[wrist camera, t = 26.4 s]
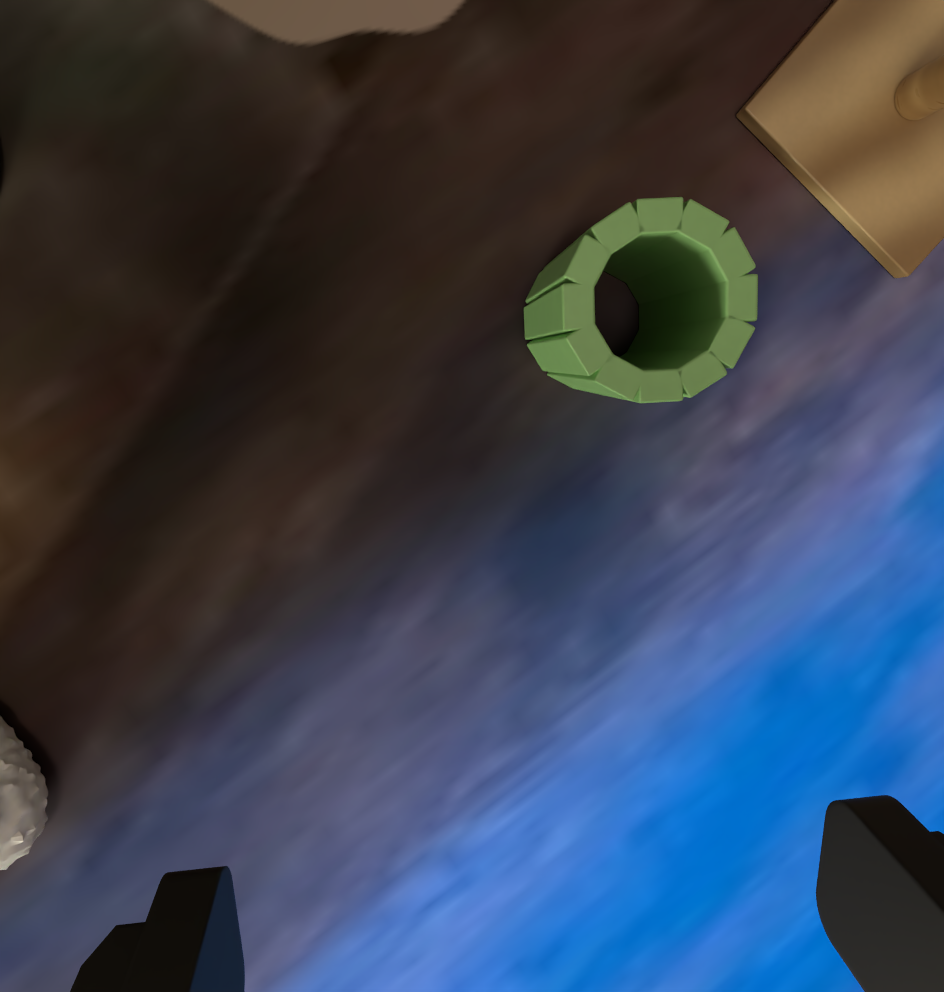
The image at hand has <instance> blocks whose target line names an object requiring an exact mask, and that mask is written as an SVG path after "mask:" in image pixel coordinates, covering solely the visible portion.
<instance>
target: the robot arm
mask: <svg viewBox="0 0 944 992" xmlns="http://www.w3.org/2000/svg"><path fill="white" fill-rule="evenodd" d="M0 169H1V165H0ZM816 900H817V907H818V911H819V915H820V919H821V922H822V924H823V927H824V929H825V932H826V934H827V936H828V938H829V940H830V941H831V943H832V945H833V946H834V948H835V949H836V950H837V952H838V953H839V955H840V956H841V958H842V959H843V961H844V962H845V964H846V965H847V966H848V968H849V969H850V971H851V972H852V974H853V975H854V977H855V978H856V980H857V981H858V982H859V984H860V985H861V987H862V988H863V990H864V991H865V992H944V834H942V833H941V832H939V831H935V832H929V831H928V830H927V829H926V828H925V827H924V826H923V825H922V824H921V823H920V822H919V821H918V820H917V819H916V818H915V817H914V816H913V815H912V814H911V813H910V812H909V811H908V810H907V809H906V808H905V807H904V806H903V805H902V804H901V803H900V802H899V801H898V800H896V799H895V798H893V797H891V796H888V795H881V796H872V797H863V798H854V799H845V800H836V801H833V802H831V803H830V804H829V806H828V808H827V810H826V815H825V822H824V831H823V839H822V847H821V855H820V863H819V871H818V879H817V887H816ZM244 985H245V973H244V958H243V951H242V944H241V937H240V930H239V923H238V916H237V909H236V902H235V895H234V888H233V881H232V875H231V872H230V869H229V868H228V866H222V867H213V868H204V869H195V870H186V871H177V872H168V873H166V874H165V875H164V876H163V877H162V879H161V881H160V884H159V886H158V889H157V892H156V894H155V897H154V900H153V903H152V905H151V908H150V911H149V914H148V916H147V919H146V922H141V923H132V924H124V925H116V926H115V927H114V929H113V930H112V931H111V932H110V933H109V934H108V936H107V937H106V938H105V939H104V940H103V941H102V942H101V944H100V945H99V946H98V947H97V948H96V949H95V951H94V952H93V953H92V954H91V955H90V956H89V958H88V959H87V960H86V961H85V962H84V963H83V964H82V966H81V968H80V970H79V972H78V975H77V977H76V979H75V982H74V984H73V986H72V989H71V991H70V992H244Z"/></svg>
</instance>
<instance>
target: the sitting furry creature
mask: <svg viewBox="0 0 944 992" xmlns="http://www.w3.org/2000/svg"><path fill="white" fill-rule="evenodd" d="M40 770H41V767H40V766H39V764H37V763H35V762H34V761H33V760H32V753H31V752H30V751H29V750H28V749H26V748H24V746H23V742H22V741H21V740H19V739H18V738H17V737H16V735H15V732H14V729H13V728H12V727H9V725H8V724H7V723H6V722H5V721H4V720H3V719H2V717H1V716H0V870H5V869H7V868H8V867H9V866H10V865H11V864H12V863H13V862H14V861H15V860H16V859H17V858H19V857H21V856H23V855H26V854H29V851H30V848H31V846H32V844H33V842H34V840H35V839H36V838H37V837H38V836H39V835H40V834H41V833H42V831H43V829H44V827H45V826H44V823H45V822H46V821H47V820H48V818H47V814H46V812H45V807H46V805H47V799H46V798H47V797H48V790H47V787H46V784H45V777H44V776H43V774H41V773H40Z"/></svg>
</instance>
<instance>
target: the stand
mask: <svg viewBox="0 0 944 992" xmlns="http://www.w3.org/2000/svg"><path fill="white" fill-rule="evenodd" d="M736 117H737V118H738V119H739V120H740V121H741V122H742V123H743V124H744V125H745V126H746V127H747V128H748V129H749V130H750V131H751V132H752V133H753V134H754V135H755V136H756V137H757V138H758V139H759V140H760V141H761V142H762V143H763V144H764V145H765V146H766V147H767V148H768V149H769V151H770V152H771V153H772V154H773V155H774V156H775V157H776V158H777V159H778V160H779V161H780V162H781V163H782V164H783V165H784V166H785V167H786V168H787V169H788V170H789V171H790V172H791V173H792V174H793V175H794V176H795V177H796V178H797V179H798V180H799V181H800V182H801V183H802V184H803V185H804V186H805V187H806V188H807V189H808V190H809V191H810V192H811V193H812V194H813V195H814V196H815V197H816V198H817V199H818V200H819V201H820V202H821V204H822V205H823V206H824V207H825V208H826V209H827V210H828V211H829V212H830V213H831V214H832V215H833V216H834V217H835V218H836V219H837V220H838V221H839V222H840V223H841V224H842V225H843V226H844V227H845V228H846V229H847V230H848V231H849V232H850V233H851V234H852V235H853V236H854V237H855V238H856V239H857V240H858V241H859V242H860V243H861V244H862V245H863V246H864V247H865V248H866V249H867V250H868V251H869V252H870V253H871V254H872V255H873V257H874V258H875V259H876V260H877V261H878V262H879V263H880V264H881V265H882V266H883V267H884V268H885V269H886V270H887V271H888V272H889V273H890V274H891V275H892V276H893V277H894V278H901V277H907V276H909V275H910V274H911V273H912V272H913V271H914V270H915V269H916V268H917V266H918V265H919V264H920V263H921V262H922V261H923V260H924V259H925V258H926V257H927V256H928V254H929V253H930V252H931V251H932V250H933V249H934V248H935V247H936V246H937V245H938V244H939V242H940V241H941V240H942V239H943V238H944V0H834V1H833V3H832V4H831V5H830V6H829V7H828V8H827V10H826V11H825V12H824V13H823V14H822V15H821V17H820V18H819V19H818V20H817V21H816V22H815V24H814V25H813V26H812V27H811V28H810V29H809V31H808V32H807V33H806V34H805V35H804V36H803V38H802V39H801V40H800V41H799V42H798V43H797V45H796V46H795V47H794V48H793V49H792V50H791V51H790V53H789V54H788V55H787V56H786V57H785V58H784V60H783V61H782V62H781V63H780V64H779V65H778V67H777V68H776V69H775V70H774V71H773V72H772V74H771V75H770V76H769V77H768V78H767V79H766V81H765V82H764V83H763V84H762V85H761V86H760V88H759V89H758V90H757V91H756V92H755V93H754V95H753V96H752V97H751V98H750V99H749V100H748V102H747V103H746V104H745V105H744V106H743V107H742V109H741V110H740V111H739V112H738V113H737V115H736Z"/></svg>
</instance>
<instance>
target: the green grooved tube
mask: <svg viewBox="0 0 944 992" xmlns="http://www.w3.org/2000/svg"><path fill="white" fill-rule="evenodd" d="M728 224H729V221H728V220H727V219H725V218H723V217H721V216H720V215H718V214H716V213H714V212H713V211H711V210H709V209H707V208H706V207H704V206H702V205H700V204H699V203H697V202H695V201H693V200H692V199H689V200H688V201H686V202H685V203H683V197H668V198H647V199H637V200H636V201H635V202H633V203H632V204H631V203H630V202H628V203H626V204H625V205H623V206H622V207H620V208H619V209H617V210H616V211H614V212H613V213H611V214H610V215H608V216H607V217H605V218H604V219H602V220H601V221H599V222H598V223H596V224H595V225H593V226H592V227H591V228H589V229H588V230H587V231H586V232H585V233H584V234H582V235H581V236H580V237H579V238H578V239H577V240H575V241H574V242H573V243H572V244H571V245H570V246H568V247H567V248H566V249H565V250H564V251H563V252H561V253H560V254H559V255H558V256H557V257H556V258H554V259H553V260H552V261H551V262H550V263H549V264H548V265H546V266H545V267H544V270H542V271H541V272H540V273H539V274H538V276H537V278H536V280H535V282H534V284H533V286H532V288H531V290H530V292H529V294H528V296H527V298H526V301H525V302H526V303H528V305H527V306H525V307H524V330H525V339H526V340H529V339H533V340H532V341H530V342H529V343H527V346H528V348H529V350H530V351H531V353H532V354H533V356H534V358H535V359H536V361H537V362H538V364H539V366H540V367H541V369H542V370H543V371H548V373H547V375H548V376H550V377H552V378H554V379H556V380H558V381H559V382H561V383H563V384H565V385H567V386H569V387H571V388H573V389H577V390H582V391H586V392H591V393H596V394H600V395H605V396H610V397H614V398H619V399H623V400H628V401H633V402H638V403H653V402H671V401H682V400H683V397H688V398H690V397H693V396H694V395H696V394H697V393H699V392H700V391H702V390H704V389H705V388H707V387H708V386H710V385H711V384H713V383H714V382H716V381H718V380H719V379H721V378H722V377H724V376H725V375H726V374H727V371H726V370H725V368H733V367H734V366H735V364H736V362H737V360H738V359H739V357H740V355H741V353H742V351H743V350H744V348H745V346H746V344H747V343H748V341H749V339H750V337H751V335H752V334H753V332H754V330H755V327H754V326H752V325H750V324H748V323H746V322H752V321H756V320H757V297H758V276H757V275H756V274H747V273H748V272H750V271H751V270H753V269H754V268H755V267H756V266H755V263H754V262H753V260H752V258H751V256H750V254H749V252H748V251H747V249H746V247H745V245H744V243H743V241H742V240H741V238H740V236H739V234H738V232H737V230H736V229H735V228H734V227H733V228H730V229H728V230H726V231H725V229H726V227H727V226H728ZM603 271H605V272H607V273H609V274H610V275H612V276H614V277H616V278H618V279H620V280H621V281H623V282H625V283H626V284H627V285H628V287H629V289H630V291H631V292H632V294H633V296H634V297H635V299H636V301H637V303H638V304H639V330H638V332H637V334H636V336H635V338H634V340H633V342H632V344H631V345H630V347H629V349H628V351H627V353H625V354H624V355H622V356H620V357H618V356H616V355H614V354H613V353H612V351H611V350H610V348H609V346H608V345H607V343H606V341H605V340H604V338H603V336H602V335H601V333H600V331H599V330H598V328H597V326H596V325H595V296H594V287H595V285H596V283H597V281H598V279H599V278H600V276H601V274H602V272H603Z"/></svg>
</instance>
